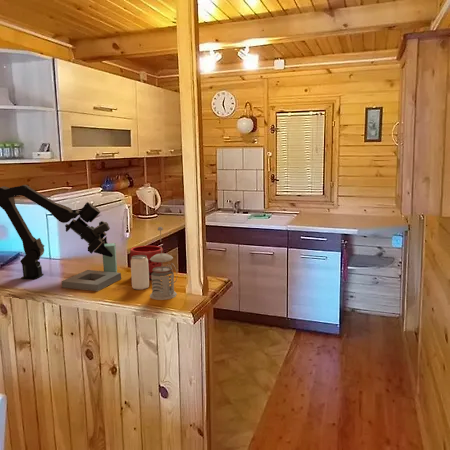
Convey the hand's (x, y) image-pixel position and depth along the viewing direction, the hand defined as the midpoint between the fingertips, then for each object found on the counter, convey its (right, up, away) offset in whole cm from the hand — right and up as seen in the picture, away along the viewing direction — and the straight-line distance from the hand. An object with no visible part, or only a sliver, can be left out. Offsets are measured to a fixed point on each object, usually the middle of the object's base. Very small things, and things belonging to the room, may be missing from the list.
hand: (112, 254), depth 187 cm
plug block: (-1, -8, +1) cm, 8 cm away
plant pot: (+16, -9, -6) cm, 19 cm away
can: (+16, -11, -19) cm, 27 cm away
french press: (+26, -13, -29) cm, 41 cm away
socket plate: (-5, -10, -13) cm, 17 cm away
